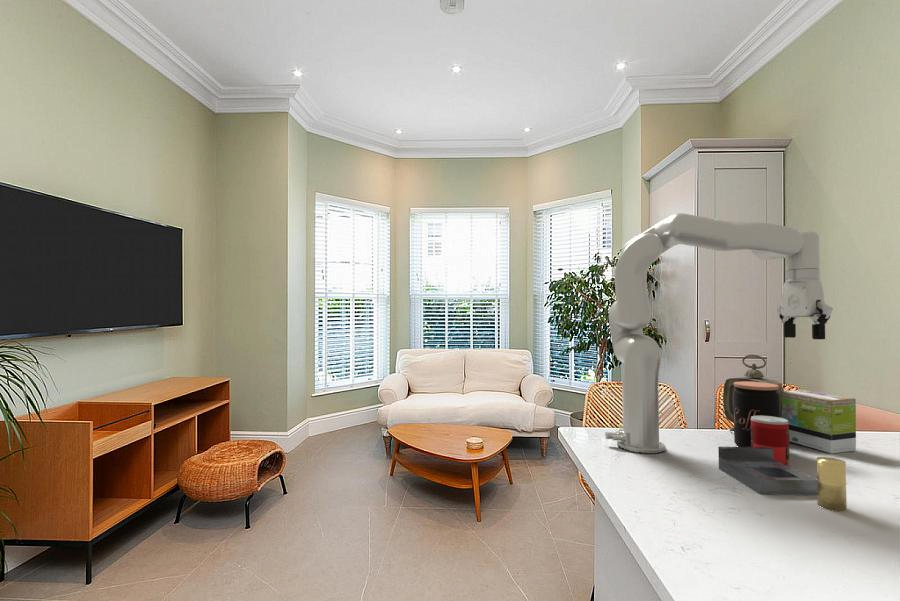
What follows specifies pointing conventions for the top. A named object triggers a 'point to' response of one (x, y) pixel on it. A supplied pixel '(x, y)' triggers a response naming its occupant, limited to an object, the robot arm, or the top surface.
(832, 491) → the pale yellow cylinder
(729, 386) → the tabletop clock
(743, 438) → the coffee jar
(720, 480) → the top surface
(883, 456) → the top surface
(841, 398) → the tea box
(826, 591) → the top surface
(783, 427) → the canned food
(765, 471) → the frame
